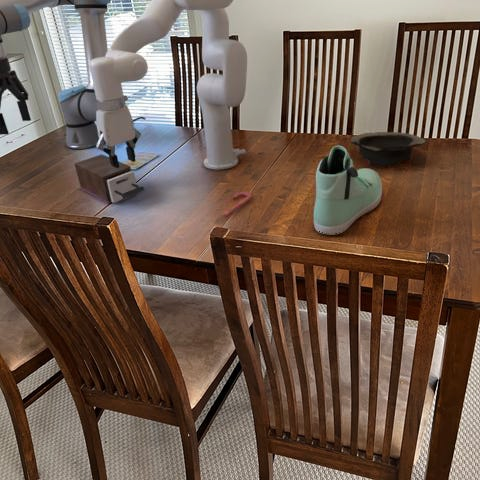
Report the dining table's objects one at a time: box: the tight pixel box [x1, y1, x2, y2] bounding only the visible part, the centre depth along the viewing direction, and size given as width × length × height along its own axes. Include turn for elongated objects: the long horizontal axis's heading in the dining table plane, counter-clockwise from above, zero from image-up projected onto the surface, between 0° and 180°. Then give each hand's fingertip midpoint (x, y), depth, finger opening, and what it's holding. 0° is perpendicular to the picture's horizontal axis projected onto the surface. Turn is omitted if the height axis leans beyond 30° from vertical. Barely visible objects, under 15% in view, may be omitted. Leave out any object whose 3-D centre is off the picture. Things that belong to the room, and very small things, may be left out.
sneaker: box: [313, 145, 383, 236], centre depth 133 cm, size 14×35×20 cm, turn 152°
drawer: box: [106, 170, 146, 204], centre depth 155 cm, size 23×9×7 cm, turn 44°
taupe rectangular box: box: [73, 154, 132, 205], centre depth 159 cm, size 18×10×9 cm, turn 44°
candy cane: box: [223, 191, 253, 218], centre depth 145 cm, size 6×15×2 cm, turn 145°
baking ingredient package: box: [122, 152, 159, 170], centre depth 182 cm, size 9×1×15 cm
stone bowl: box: [350, 131, 426, 169], centre depth 166 cm, size 25×25×9 cm
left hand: (16, 127), depth 156 cm, fingers open, 13 cm apart
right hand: (123, 163), depth 145 cm, fingers open, 5 cm apart
